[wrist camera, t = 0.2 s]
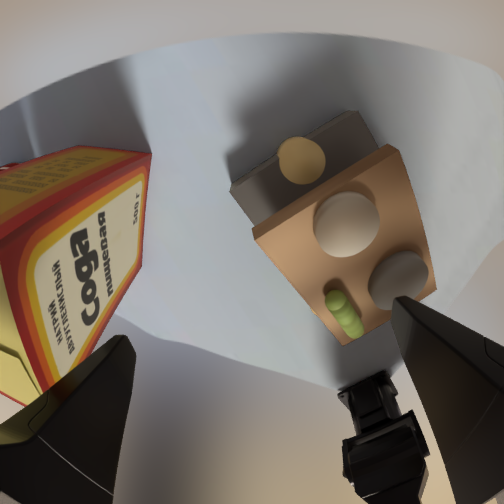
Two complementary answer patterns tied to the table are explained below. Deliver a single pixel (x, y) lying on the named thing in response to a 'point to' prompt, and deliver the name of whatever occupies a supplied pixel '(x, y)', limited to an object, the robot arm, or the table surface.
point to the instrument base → (303, 166)
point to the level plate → (353, 245)
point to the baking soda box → (65, 259)
